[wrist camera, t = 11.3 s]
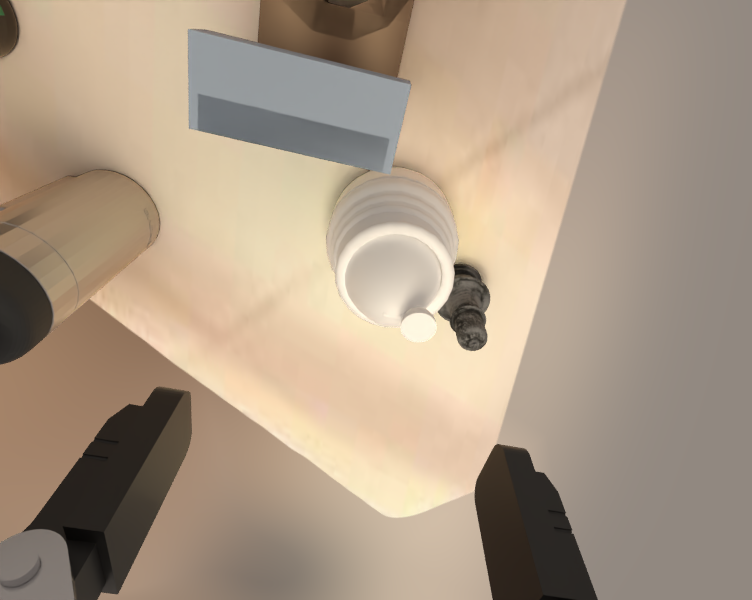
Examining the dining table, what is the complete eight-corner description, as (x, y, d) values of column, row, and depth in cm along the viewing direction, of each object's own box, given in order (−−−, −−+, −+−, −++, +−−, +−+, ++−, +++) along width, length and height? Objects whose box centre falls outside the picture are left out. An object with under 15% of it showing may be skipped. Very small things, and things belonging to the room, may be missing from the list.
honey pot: (466, 177, 43) (507, 257, 28) (437, 288, 50) (457, 401, 34) (338, 156, 42) (308, 225, 27) (326, 271, 49) (296, 378, 34)
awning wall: (263, 94, 40) (188, 128, 25) (268, 31, 37) (188, 29, 22) (390, 124, 41) (390, 174, 26) (403, 66, 38) (411, 84, 23)
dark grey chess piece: (463, 251, 47) (483, 311, 37) (494, 286, 49) (521, 352, 39) (421, 282, 49) (429, 347, 39) (453, 314, 51) (468, 384, 41)
